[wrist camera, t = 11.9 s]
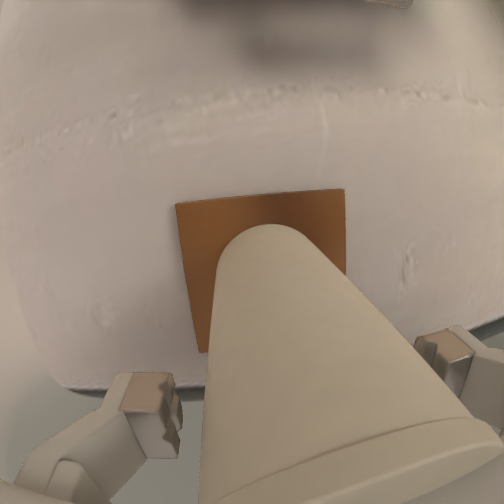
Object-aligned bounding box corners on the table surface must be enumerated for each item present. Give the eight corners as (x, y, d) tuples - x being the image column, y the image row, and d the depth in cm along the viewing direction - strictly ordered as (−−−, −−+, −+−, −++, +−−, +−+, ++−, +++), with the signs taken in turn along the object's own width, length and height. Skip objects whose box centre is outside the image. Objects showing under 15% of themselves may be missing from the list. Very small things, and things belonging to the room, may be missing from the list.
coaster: (199, 349, 17) (199, 353, 16) (176, 202, 15) (174, 203, 14) (341, 332, 17) (343, 335, 17) (341, 188, 15) (344, 189, 15)
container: (221, 330, 16) (221, 591, 4) (207, 227, 15) (132, 501, 2) (323, 318, 16) (444, 539, 4) (321, 216, 15) (558, 385, 2)
